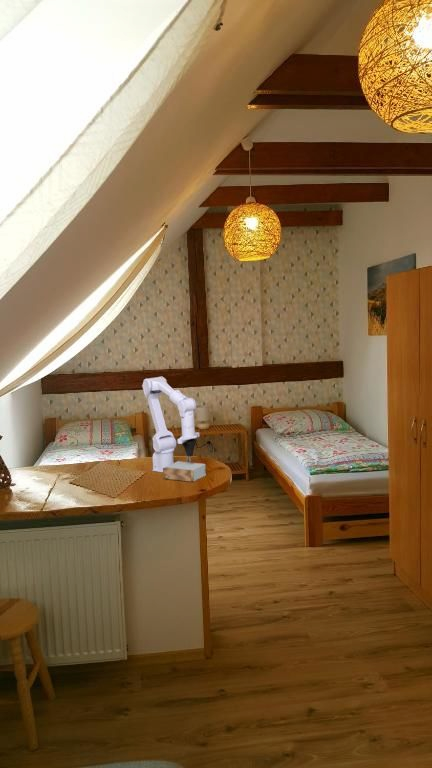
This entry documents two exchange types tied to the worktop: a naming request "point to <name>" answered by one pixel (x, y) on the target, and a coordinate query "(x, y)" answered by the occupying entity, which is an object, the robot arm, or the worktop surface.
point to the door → (178, 474)
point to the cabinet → (190, 468)
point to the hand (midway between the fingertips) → (189, 456)
